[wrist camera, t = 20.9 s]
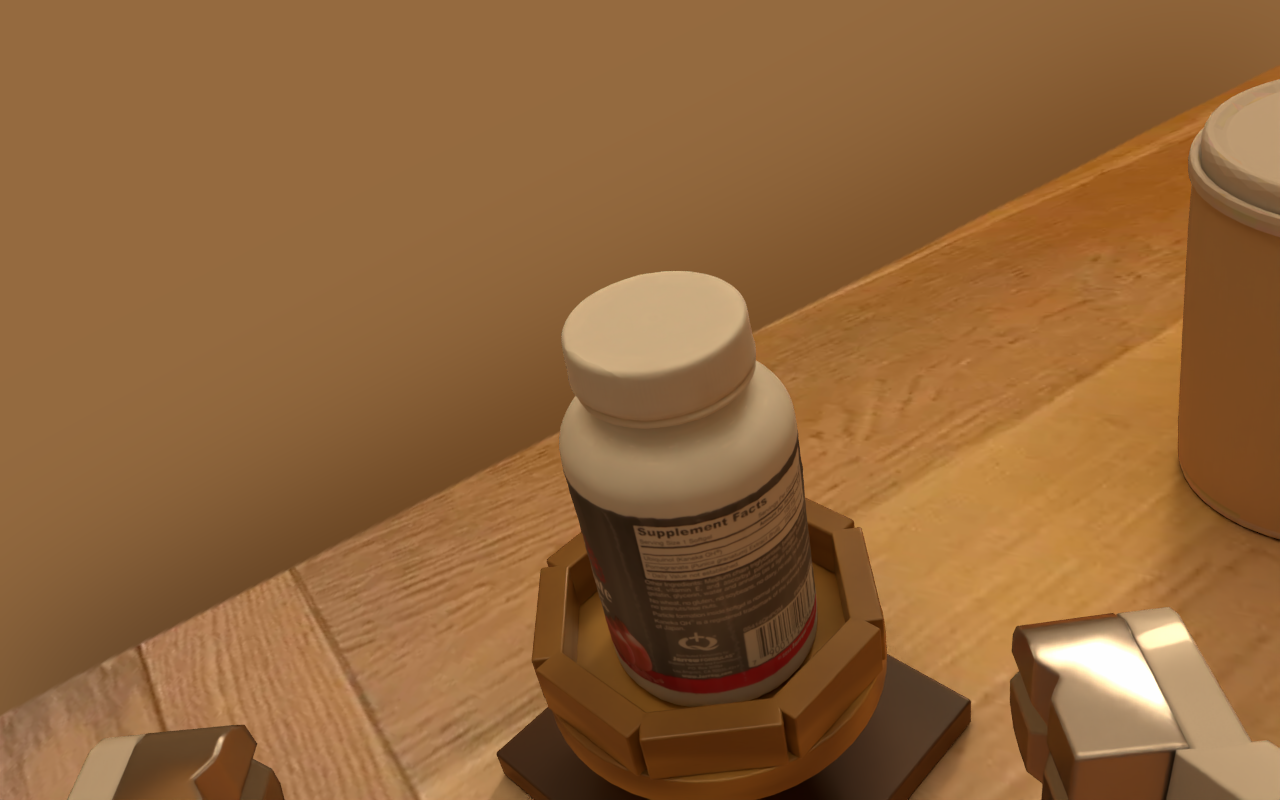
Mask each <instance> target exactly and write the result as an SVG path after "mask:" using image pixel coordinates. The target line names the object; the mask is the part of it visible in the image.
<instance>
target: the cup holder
mask: <svg viewBox="0 0 1280 800" xmlns="http://www.w3.org/2000/svg"><path fill="white" fill-rule="evenodd" d="M805 501H806V514H807V522H808V531H809V538H810V548H811V558H812V566H813V574H814V582H815V589H816V599H817V630H816V635H815V639H814V642H813V645H812V647H811V649H810V651H809V653H808V655H807V657H806V658H805V660H804V661H803V663H802V664H801V665H800V667H799V668H798V669H797V670H796V671H795V672H794V673H793V674H792V675H791V676H790V677H789V678H788V679H787V680H786V681H784V682H783V683H782V684H781V685H780V686H778V687H777V688H775V689H774V690H772V691H771V692H769V693H767V694H764V695H762V696H760V697H758V698H755V699H752V700H749V701H742V702H733V703H724V704H715V705H707V706H698V707H688V706H681V705H676V704H673V703H670V702H667V701H664V700H661V699H659V698H658V697H655V696H654V695H652V694H651V693H649V692H648V691H646V690H645V689H643V688H642V687H641V686H639V685H638V684H637V683H636V682H635V681H634V680H633V679H632V678H631V677H630V676H629V675H628V674H627V672H626V671H625V670H624V668H623V666H622V664H621V662H620V661H619V658H618V656H617V653H616V651H615V648H614V644H613V641H612V638H611V634H610V631H609V629H608V625H607V622H606V618H605V614H604V610H603V607H602V603H601V600H600V597H599V594H598V589H597V585H596V582H595V579H594V575H593V571H592V568H591V564H590V560H589V557H588V554H587V551H586V547H585V543H584V539H583V534H582V532H581V533H579V534H578V535H577V536H576V537H574V538H573V539H572V540H571V541H569V542H568V543H567V544H566V545H564V546H563V547H562V548H561V549H559V550H558V551H557V552H556V553H554V554H553V555H552V556H551V557H549V558H548V559H547V564H548V567H547V568H542V569H541V572H540V582H539V593H538V603H537V613H536V623H535V633H534V643H533V653H532V663H533V666H534V669H535V672H536V675H537V678H538V680H539V683H540V686H541V689H542V692H543V695H544V697H545V698H546V701H547V704H548V707H547V708H546V709H545V710H544V711H543V712H542V713H541V714H540V715H538V716H537V717H536V718H535V719H534V720H533V721H532V722H531V723H529V724H528V725H527V726H526V727H525V728H524V729H523V730H522V731H520V732H519V733H518V734H517V735H516V736H515V737H514V738H513V739H511V740H510V741H509V742H508V743H507V744H506V745H505V746H504V747H502V748H501V749H500V750H499V751H498V752H497V757H498V759H499V762H500V764H501V767H502V769H503V772H504V774H506V775H507V776H508V777H509V778H510V779H511V780H512V781H514V782H515V783H516V784H517V785H518V786H519V787H521V788H522V789H523V790H524V791H525V792H526V793H527V794H529V795H530V796H531V797H532V798H533V799H534V800H907V799H908V798H909V797H910V796H911V794H912V793H913V792H914V791H915V789H916V788H917V787H918V786H919V785H920V783H921V782H922V781H923V780H924V778H925V777H926V776H927V775H928V774H929V772H930V771H931V770H932V769H933V767H934V766H935V765H936V764H937V763H938V761H939V760H940V759H941V758H942V756H943V755H944V754H945V753H946V752H947V750H948V749H949V748H950V747H951V745H952V744H953V743H954V742H955V741H956V739H957V738H958V737H959V736H960V734H961V733H962V732H963V731H964V730H965V728H966V727H967V726H968V725H969V723H970V722H971V701H970V700H969V699H967V698H966V697H964V696H962V695H960V694H958V693H957V692H955V691H953V690H951V689H949V688H948V687H946V686H944V685H942V684H940V683H938V682H937V681H935V680H933V679H931V678H929V677H928V676H926V675H924V674H922V673H920V672H919V671H917V670H915V669H913V668H911V667H910V666H908V665H906V664H904V663H902V662H900V661H899V660H897V659H895V658H893V657H891V656H890V655H888V654H887V647H886V630H885V623H884V617H883V611H882V608H881V605H880V602H879V598H878V594H877V590H876V585H875V581H874V577H873V573H872V569H871V565H870V561H869V557H868V553H867V549H866V545H865V541H864V536H863V532H862V529H861V528H860V527H858V528H854V521H853V520H852V519H850V518H848V517H846V516H843V515H841V514H839V513H837V512H835V511H833V510H831V509H828V508H826V507H824V506H822V505H820V504H818V503H816V502H814V501H811V500H809V499H807V498H805Z"/></svg>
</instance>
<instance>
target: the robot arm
mask: <svg viewBox="0 0 1280 800" xmlns="http://www.w3.org/2000/svg"><path fill="white" fill-rule="evenodd" d="M1012 653H1013V656H1014V658H1015V661H1016V664H1017V666H1018V669H1019V672H1018V673H1017V674H1016V675H1015V676H1014V677H1013V678H1012V679H1011V680H1010V706H1011V713H1012V720H1013V728H1014V732H1015V735H1016V739H1017V743H1018V747H1019V750H1020V753H1021V756H1022V759H1023V762H1024V765H1025V768H1026V771H1027V772H1028V773H1030V774H1031V775H1032V776H1033V777H1035V778H1036V779H1037V780H1038V781H1040V782H1041V783H1042V784H1043V788H1042V800H1280V748H1279V747H1277V746H1276V745H1274V744H1273V743H1271V742H1270V741H1268V740H1267V741H1254V742H1252V741H1251V739H1250V737H1249V736H1248V734H1247V732H1246V731H1245V729H1244V727H1243V725H1242V724H1241V722H1240V720H1239V718H1238V717H1237V715H1236V713H1235V711H1234V710H1233V708H1232V706H1231V704H1230V703H1229V701H1228V699H1227V697H1226V696H1225V694H1224V692H1223V690H1222V689H1221V687H1220V685H1219V683H1218V682H1217V680H1216V678H1215V676H1214V675H1213V673H1212V671H1211V669H1210V668H1209V666H1208V664H1207V663H1206V661H1205V659H1204V657H1203V656H1202V654H1201V652H1200V650H1199V649H1198V647H1197V645H1196V643H1195V642H1194V640H1193V638H1192V636H1191V635H1190V633H1189V631H1188V629H1187V628H1186V626H1185V624H1184V622H1183V621H1182V619H1181V617H1180V615H1179V614H1178V613H1177V612H1175V611H1174V610H1173V609H1171V608H1170V607H1165V608H1157V609H1149V610H1141V611H1133V612H1125V613H1118V614H1114V613H1109V614H1102V615H1095V616H1088V617H1080V618H1073V619H1066V620H1058V621H1051V622H1044V623H1037V624H1029V625H1022V626H1017V627H1016V629H1015V631H1014V633H1013V642H1012ZM256 746H257V743H256V741H255V740H254V738H253V737H252V735H251V734H250V732H249V731H248V729H247V728H246V726H245V725H231V726H221V727H210V728H200V729H190V730H179V731H169V732H159V733H148V734H141V735H132V736H123V737H114V738H105V739H102V740H101V741H100V742H99V743H98V744H97V745H96V746H95V747H94V748H93V749H92V750H91V751H90V752H89V754H88V756H87V758H86V760H85V762H84V764H83V766H82V769H81V771H80V773H79V775H78V777H77V779H76V781H75V784H74V786H73V788H72V790H71V792H70V794H69V796H68V799H67V800H284V796H283V792H282V788H281V784H280V782H279V780H278V778H277V777H276V775H275V773H274V771H273V770H272V769H271V768H269V767H267V766H265V765H264V764H262V763H260V762H258V761H256V760H254V759H253V755H254V752H255V749H256Z"/></svg>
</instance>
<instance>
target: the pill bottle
mask: <svg viewBox="0 0 1280 800" xmlns="http://www.w3.org/2000/svg"><path fill="white" fill-rule="evenodd" d="M562 348H563V353H564V359H565V363H566V368H567V372H568V380H569V384H570V387H571V389H572V391H573V392H574V394H575V395H576V396H575V398H574V399H573V401H572V402H571V404H570V405H569V407H568V409H567V412H566V413H565V416H564V419H563V421H562V425H561V429H560V437H559V448H560V455H561V460H562V466H563V471H564V474H565V477H566V480H567V483H568V486H569V491H570V494H571V497H572V500H573V503H574V507H575V510H576V513H577V516H578V519H579V523H580V527H581V532H582V534H583V539H584V543H585V547H586V551H587V554H588V557H589V560H590V564H591V568H592V571H593V575H594V579H595V582H596V585H597V589H598V594H599V597H600V600H601V603H602V607H603V610H604V614H605V618H606V622H607V625H608V629H609V631H610V634H611V638H612V641H613V644H614V648H615V651H616V653H617V656H618V658H619V661H620V662H621V664H622V666H623V668H624V670H625V671H626V672H627V674H628V675H629V676H630V677H631V678H632V679H633V680H634V681H635V682H636V683H637V684H638V685H639V686H641V687H642V688H643V689H645V690H646V691H648V692H649V693H651V694H652V695H654V696H655V697H658V698H659V699H661V700H664V701H667V702H670V703H673V704H676V705H681V706H688V707H698V706H707V705H715V704H724V703H733V702H742V701H749V700H752V699H755V698H758V697H760V696H762V695H764V694H767V693H769V692H771V691H772V690H774V689H775V688H777V687H778V686H780V685H781V684H782V683H783V682H784V681H786V680H787V679H788V678H789V677H790V676H791V675H792V674H793V673H794V672H795V671H796V670H797V669H798V668H799V667H800V665H801V664H802V663H803V661H804V660H805V658H806V657H807V655H808V653H809V651H810V649H811V647H812V645H813V642H814V639H815V635H816V630H817V599H816V589H815V582H814V574H813V566H812V558H811V548H810V538H809V531H808V522H807V514H806V501H805V494H804V480H803V466H802V462H801V456H800V447H799V440H798V430H797V424H796V417H795V412H794V407H793V403H792V401H791V398H790V396H789V393H788V392H787V390H786V388H785V386H784V385H783V384H782V382H781V381H780V380H779V379H778V377H777V376H776V375H775V374H774V373H773V372H771V371H770V370H769V369H768V368H767V367H765V366H764V365H762V364H761V363H759V362H758V361H756V347H755V341H754V339H753V336H752V331H751V326H750V321H749V314H748V309H747V306H746V303H745V301H744V299H743V297H742V295H741V294H740V293H739V292H738V291H737V290H736V289H735V288H734V287H733V286H732V285H730V284H729V283H727V282H725V281H723V280H721V279H719V278H717V277H713V276H710V275H707V274H702V273H695V272H689V271H665V272H657V273H650V274H642V275H639V276H635V277H631V278H628V279H625V280H622V281H619V282H617V283H614V284H612V285H609V286H607V287H605V288H603V289H601V290H599V291H597V292H595V293H594V294H592V295H591V296H589V297H587V298H586V299H585V300H583V301H582V302H581V303H580V304H579V305H578V306H577V307H576V308H575V309H574V310H573V311H572V312H571V314H570V315H569V317H568V318H567V320H566V322H565V324H564V327H563V330H562Z"/></svg>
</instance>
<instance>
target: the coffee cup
mask: <svg viewBox="0 0 1280 800" xmlns="http://www.w3.org/2000/svg"><path fill="white" fill-rule="evenodd" d="M1188 172H1189V178H1190V181H1191V183H1192V188H1191V199H1190V211H1189V223H1188V241H1187V259H1186V277H1185V294H1184V312H1183V332H1182V353H1181V374H1180V395H1179V416H1178V456H1179V462H1180V466H1181V469H1182V471H1183V474H1184V477H1185V478H1186V480H1187V482H1188V483H1189V485H1190V486H1191V488H1192V489H1193V490H1194V491H1195V492H1196V494H1197V495H1198V496H1199V497H1200V498H1201V499H1202V500H1203V501H1204V502H1205V503H1207V504H1208V505H1209V506H1210V507H1212V508H1213V509H1214V510H1216V511H1217V512H1219V513H1220V514H1222V515H1223V516H1225V517H1226V518H1228V519H1230V520H1232V521H1234V522H1236V523H1238V524H1239V525H1241V526H1243V527H1246V528H1248V529H1251V530H1254V531H1256V532H1259V533H1261V534H1264V535H1266V536H1269V537H1273V538H1276V539H1280V79H1279V80H1275V81H1272V82H1269V83H1265V84H1262V85H1259V86H1256V87H1253V88H1251V89H1248V90H1246V91H1244V92H1242V93H1239V94H1237V95H1236V96H1234V97H1232V98H1230V99H1229V100H1227V101H1226V102H1224V103H1223V104H1221V105H1220V106H1219V107H1218V108H1217V109H1216V110H1215V111H1214V112H1213V113H1212V114H1211V116H1210V117H1209V119H1208V120H1207V122H1206V123H1205V126H1204V128H1203V129H1202V130H1201V131H1200V132H1199V133H1198V135H1197V136H1196V137H1195V139H1194V141H1193V143H1192V145H1191V148H1190V152H1189V158H1188Z"/></svg>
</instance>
